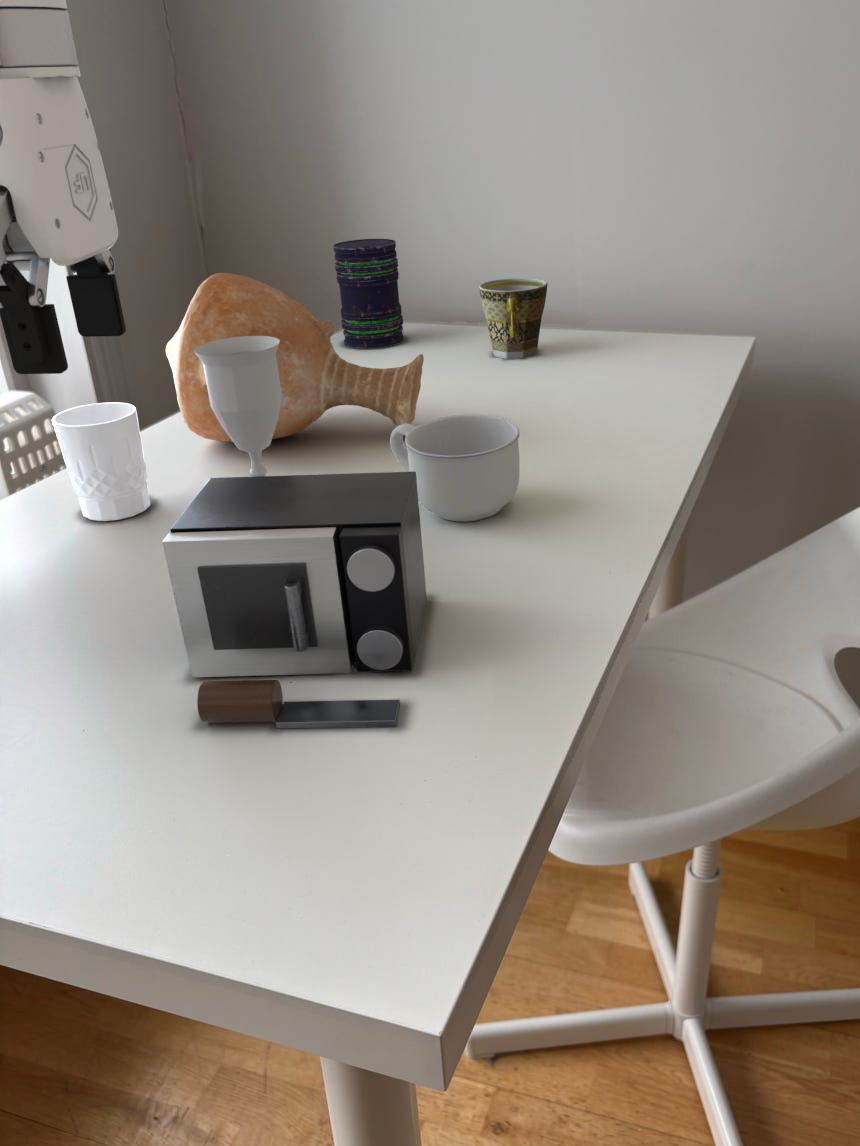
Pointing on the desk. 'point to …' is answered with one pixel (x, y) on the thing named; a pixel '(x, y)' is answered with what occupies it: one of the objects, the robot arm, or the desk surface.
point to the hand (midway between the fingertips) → (74, 352)
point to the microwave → (341, 545)
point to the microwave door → (261, 601)
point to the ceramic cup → (514, 315)
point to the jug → (281, 359)
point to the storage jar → (369, 293)
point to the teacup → (461, 463)
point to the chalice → (244, 391)
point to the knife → (287, 707)
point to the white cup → (104, 459)
